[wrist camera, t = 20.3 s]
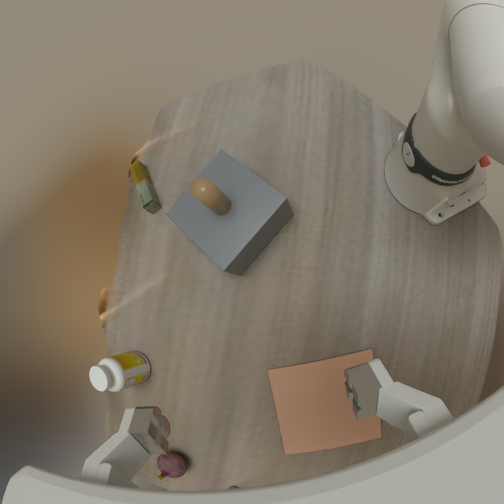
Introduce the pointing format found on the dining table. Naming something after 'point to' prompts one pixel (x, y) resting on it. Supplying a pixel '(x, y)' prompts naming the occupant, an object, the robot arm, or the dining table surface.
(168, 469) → the vegetable
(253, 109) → the dining table surface
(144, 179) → the medication box
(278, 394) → the mat
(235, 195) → the cover
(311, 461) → the dining table surface
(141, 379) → the supplement bottle
